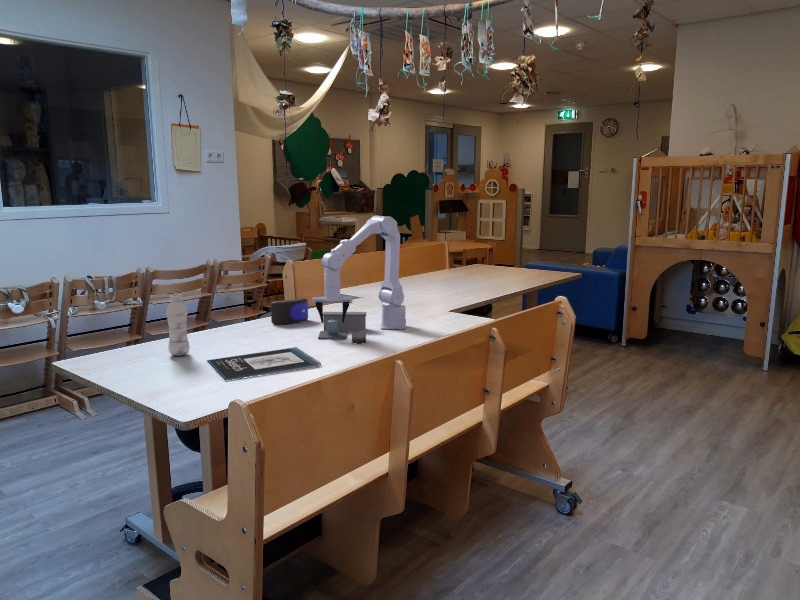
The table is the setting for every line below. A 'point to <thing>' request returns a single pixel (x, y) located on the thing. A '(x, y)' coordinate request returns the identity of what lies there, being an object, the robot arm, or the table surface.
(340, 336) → the mat
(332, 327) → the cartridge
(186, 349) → the plastic bottle
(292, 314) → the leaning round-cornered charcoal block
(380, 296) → the robot arm
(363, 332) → the cap
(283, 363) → the sketchbook
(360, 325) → the block
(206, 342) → the table surface
